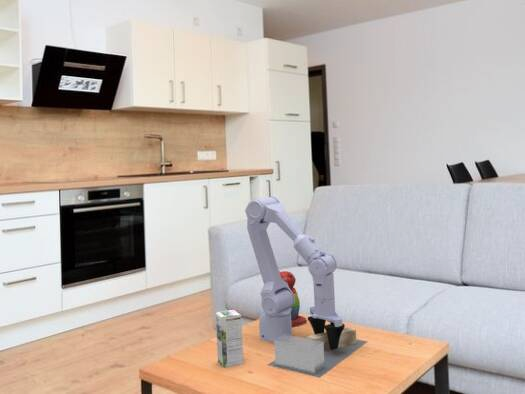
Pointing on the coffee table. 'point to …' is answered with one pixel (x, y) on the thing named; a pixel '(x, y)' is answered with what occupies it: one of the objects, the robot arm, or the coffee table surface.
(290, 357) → the grey rectangular block
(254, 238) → the robot arm
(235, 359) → the syrup box
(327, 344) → the slat
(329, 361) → the board
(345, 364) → the coffee table surface
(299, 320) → the stacking bear
